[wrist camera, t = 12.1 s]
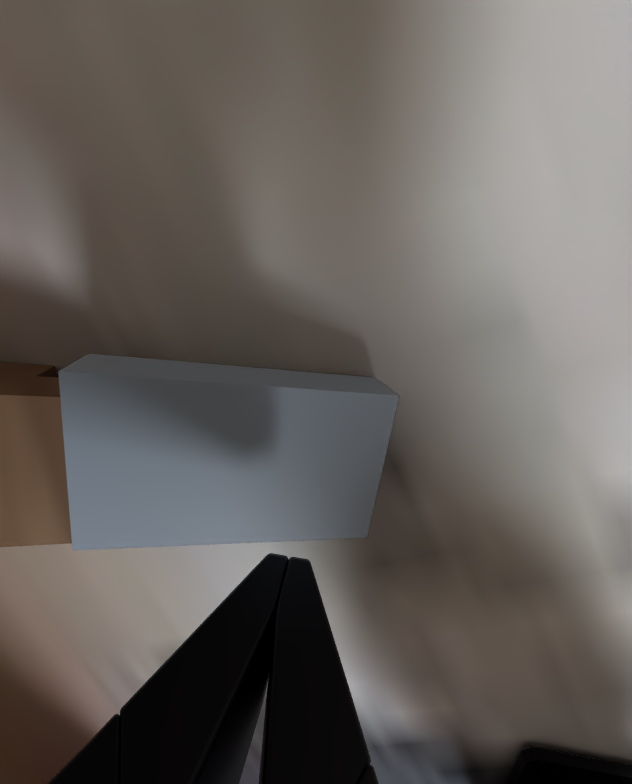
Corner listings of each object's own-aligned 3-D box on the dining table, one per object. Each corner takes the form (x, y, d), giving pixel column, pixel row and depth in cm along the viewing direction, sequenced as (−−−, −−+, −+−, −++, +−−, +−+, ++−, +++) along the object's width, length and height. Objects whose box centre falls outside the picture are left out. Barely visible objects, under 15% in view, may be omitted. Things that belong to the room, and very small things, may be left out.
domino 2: (399, 395, 9) (58, 371, 7) (366, 537, 10) (72, 550, 8) (375, 377, 10) (89, 353, 8) (349, 503, 12) (96, 507, 10)
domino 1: (202, 402, 9) (-161, 388, 8) (198, 536, 11) (-112, 552, 9) (206, 384, 11) (-97, 369, 9) (202, 504, 12) (-62, 512, 10)
